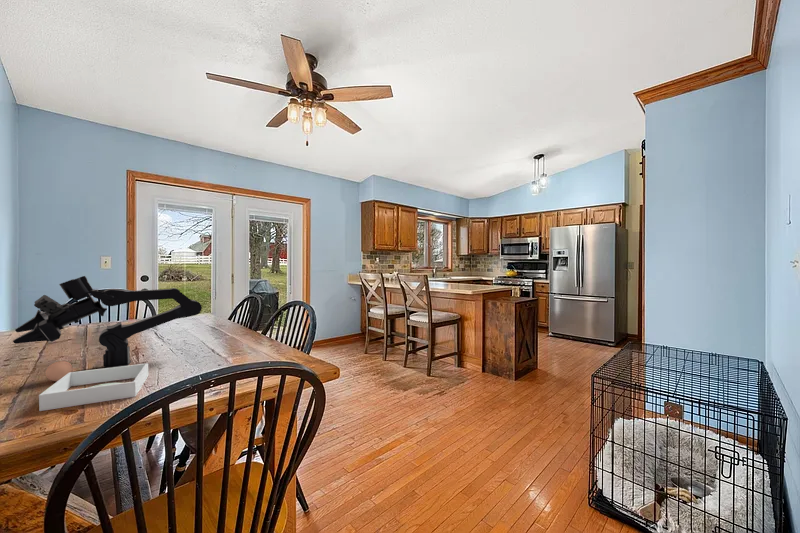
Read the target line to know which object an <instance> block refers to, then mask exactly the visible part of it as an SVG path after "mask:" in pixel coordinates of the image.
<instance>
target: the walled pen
mask: <svg viewBox="0 0 800 533" xmlns="http://www.w3.org/2000/svg"><path fill="white" fill-rule="evenodd" d="M148 377H149V363H146V362H145V363H139V364H129V365H128V366H120V367H112V368H104V367H103V368H97V369H87V370H79V371H72V372H69V373H68V374H66V375H65V376H64V377H62V378H61V379H60V380H58V381H55V383H53V384H51V386H49V387H48V388H47V389H45V390H43V392H41V393H40V394H38V405H39V406H38V407H39V408H38V409H39V412H42V411H49V410H54V409H55V410H56V409H61V408H68V407H75V406H82V405H89V404H94V403H101V402H108V401H115V400H121V399H127V398H133V397H134V398H136V396H137V395H138V394H139V391H140V390H141V388H142V387H143V386H144V384H145V382H146V380H147V378H148ZM128 379H134V380H132V381H129V382H115V381H122V380H128ZM113 381H114V382H113ZM105 382H106V383H105ZM107 382H108V383H107ZM97 383H101V384H97ZM92 384H96V385H93V386H92ZM82 385H91V386H88V387H86V388H85V387H84V388H76V389H70V388H71V387H74V386H75V387H77V386H82ZM69 389H70V390H69Z"/></svg>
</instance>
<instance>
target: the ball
mask: <svg viewBox="0 0 800 533" xmlns="http://www.w3.org/2000/svg"><path fill="white" fill-rule="evenodd" d="M69 372H74V368H73V365H72V364H71V363H70V362H69V361H64V360H60V361H55V362H53V363H51V364H50V365H49V366H47V368H46V370H45V376H46V378H47V379H48V380H50V381H52V382H57V381H58V380H60V379H61V378H62V377H64V376H65V375H66V374H68V373H69Z"/></svg>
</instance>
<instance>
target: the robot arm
mask: <svg viewBox="0 0 800 533" xmlns="http://www.w3.org/2000/svg"><path fill="white" fill-rule="evenodd" d="M58 285H59V286H60V288H61V290H62V291H63V292H64V293H65V295H66V296H67V298H68V299H69V300H70V299H72V300H74V301H75V302H73V303H70V304H69V303H63V304H62V303H61V304H60V302H58V301H56V300H55V299H53V298H51V297H50V296H48V295H45V294H44V295H42V296H41V297H39V298H38V299H36V300H35V301H34V304H33V305H34V307H35V308H37V311H36V314H35V315H34V316H33V317H32V318H30V319H29V320H28V321H26V322H24V323H23V324H21V325H20V326H18V327H17V328H15V332H16V333H23V332H26V333H24V334H22V335H20V336H19V337H17V338H15V339H13V340H12V343H13V344H15V345H17V344H25V343H34V342H35V343H36V342H51V343H52V342H54V341H57V340H59V339H60V338H61V336H62V330H63V329H64V327H65V326H68V325H70V324H73V323H74V324H78V323H79V322H80V320H82V319H84V318H87V317H89V316H92V315H93V314H96V313H98V314H99V315H100V316H101V317H104V315H105V312H106V311H107V310H108V308H107V307H115V306H118V305H125V304H127V303H132V302H142V301H144V302H145V301H155V300H157V301H158V300H169V299H170V300H172V299H173V300H174V301H175V302H176V303H177V304H179V305H176V306H174V307H173V308H171V309H169V310H166V311H163V312H160V313H158V314H155V315H151V316H149V317H146V318H143V319H141V320H138V321H135V322H132V323H128V324H122V321H119V322H117V323H115V324H113V325H107V326H106V328H105V329H103V330H102V331H101V332H100V334H99V338H98V343H99V344H100V345H101V346H102V347H106V349H105V351H104V354H103V355H102V359H103V360H102V361H103V362H102V363H103V365H102V366H103V368H112V367H120V366H129V365H131V364H130V363H132V360H130V356H131V353H130V351H131V348H130V347H131V346H128V345H129V340H128V339H129V338H130V337H132V336H134V335H136V334H140V333H142V332H144V331H147V330H150V329H152V328H155V327H158V326H160V325H164V324H166V323H169V322H172V321H174V320H178V319H185V318H189V317H194V316H197V315H199V314H200V313H201V312H202V309H203V308H202V307H203V306H202V304H201V303H200V302H199V301H197V300H195V299H190V298H189V297H188V296H186V295H185V294H184V293H183V292H181V291H180V290H179V289H178V288H176V287H171V288H163V289H160V288H159V289H144V290H143V289H141V290H129V289H119V288H107V289H105V290H101V289H97V288H96V289H95V288H93V286H92V285H91V284H90V282H89V280H88V278H87V276H86V275H84V276H83V275H82V276H80V277H77V278H73V279H72V278H71V279H70V280H66V281H64V282H61V283H59V284H58ZM85 297H86V298H85ZM94 298H95V299H97V300H96V301H95V299H94ZM80 299H81V300H80ZM102 304H103V305H104V306H106V307H103V306H102ZM27 331H28V332H27Z"/></svg>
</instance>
